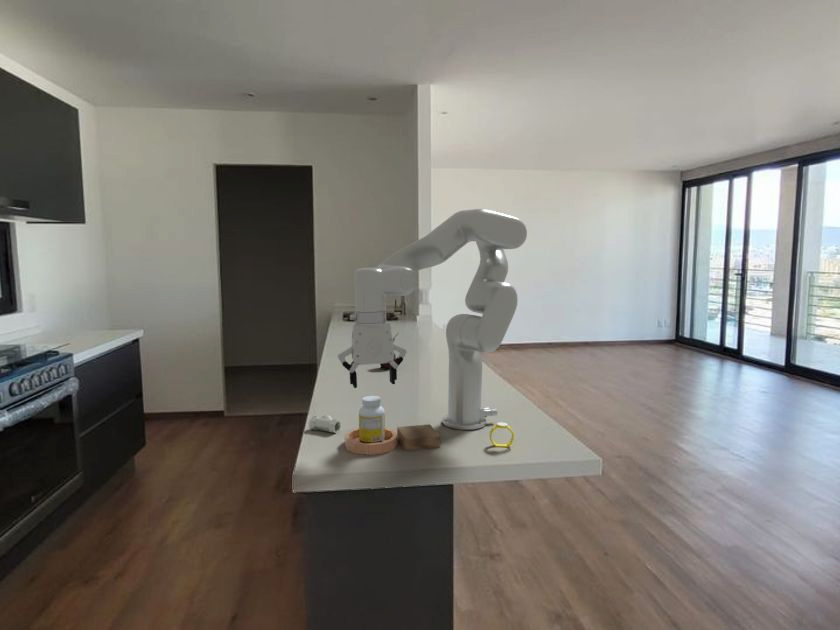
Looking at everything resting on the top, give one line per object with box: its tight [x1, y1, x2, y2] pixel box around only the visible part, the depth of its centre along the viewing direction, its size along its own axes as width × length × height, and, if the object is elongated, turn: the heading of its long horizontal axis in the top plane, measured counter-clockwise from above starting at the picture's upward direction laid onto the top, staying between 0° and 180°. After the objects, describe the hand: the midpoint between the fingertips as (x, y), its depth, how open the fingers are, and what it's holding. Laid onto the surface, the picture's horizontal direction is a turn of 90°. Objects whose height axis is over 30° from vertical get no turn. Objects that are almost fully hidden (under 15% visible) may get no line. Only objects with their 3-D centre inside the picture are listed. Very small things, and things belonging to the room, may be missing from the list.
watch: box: [489, 421, 515, 448], centre depth 129 cm, size 6×3×6 cm, turn 86°
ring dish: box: [344, 427, 398, 456], centre depth 129 cm, size 13×13×2 cm
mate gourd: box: [379, 332, 399, 371], centre depth 216 cm, size 8×8×15 cm
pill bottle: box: [358, 395, 386, 443], centre depth 128 cm, size 6×6×12 cm
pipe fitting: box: [308, 414, 342, 434], centre depth 141 cm, size 8×4×7 cm
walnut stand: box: [396, 423, 441, 452], centre depth 131 cm, size 9×9×3 cm
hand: (373, 384), depth 128 cm, fingers open, 9 cm apart
